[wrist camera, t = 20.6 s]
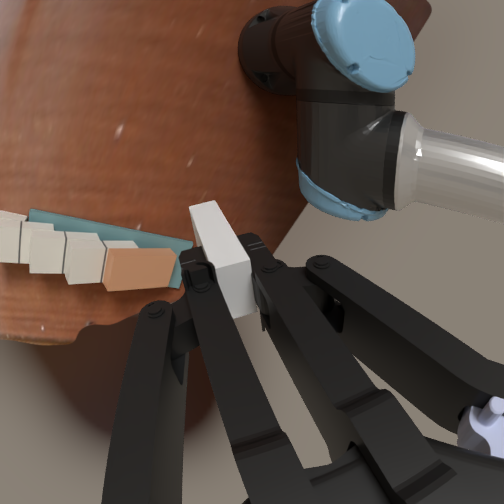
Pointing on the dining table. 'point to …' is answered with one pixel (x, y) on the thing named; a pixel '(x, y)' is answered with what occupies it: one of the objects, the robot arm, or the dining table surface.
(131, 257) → the terracotta domino
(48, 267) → the domino
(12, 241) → the domino
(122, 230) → the domino board
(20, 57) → the dining table surface
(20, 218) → the domino
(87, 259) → the domino
